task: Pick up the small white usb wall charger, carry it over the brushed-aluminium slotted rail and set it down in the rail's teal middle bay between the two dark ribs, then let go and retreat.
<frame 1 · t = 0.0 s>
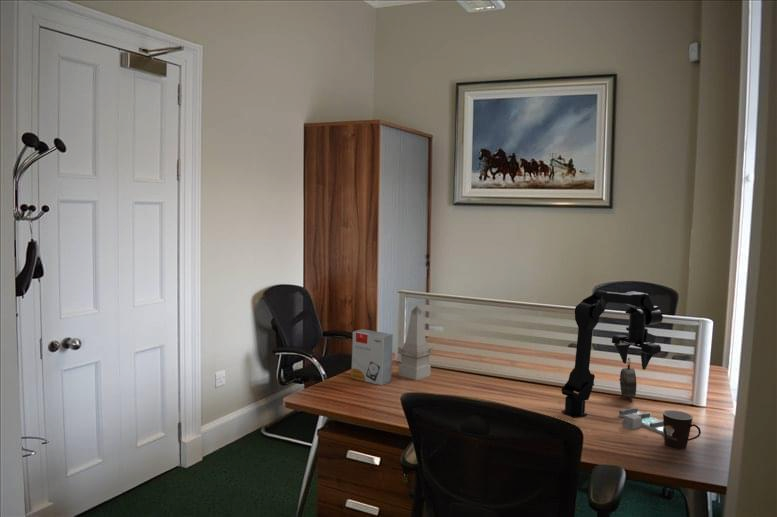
hand: (634, 366, 243), 15 cm above the table, tool pointing down, fingers open, 9 cm apart
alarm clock: (626, 399, 251), on the table
usb wall charger: (629, 428, 219), on the table
hard drive box: (371, 380, 266), on the table
coffee mug: (677, 447, 203), on the table
miniature monument: (414, 375, 275), on the table
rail: (649, 423, 223), on the table
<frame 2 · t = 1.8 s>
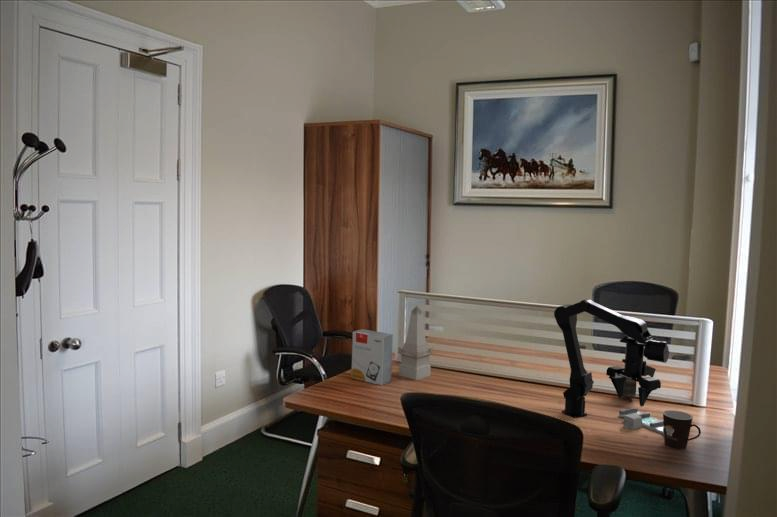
hand: (630, 402, 218), 9 cm above the table, tool pointing down, fingers open, 9 cm apart
nothing on the table moved.
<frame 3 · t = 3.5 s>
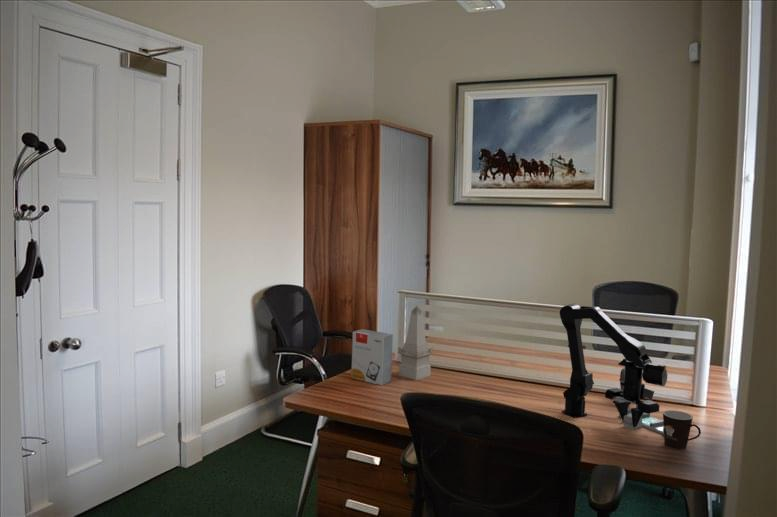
hand: (629, 424, 219), 1 cm above the table, tool pointing down, fingers closed on usb wall charger, 4 cm apart
usb wall charger: (629, 428, 219), on the table, touching gripper
everything else where it was.
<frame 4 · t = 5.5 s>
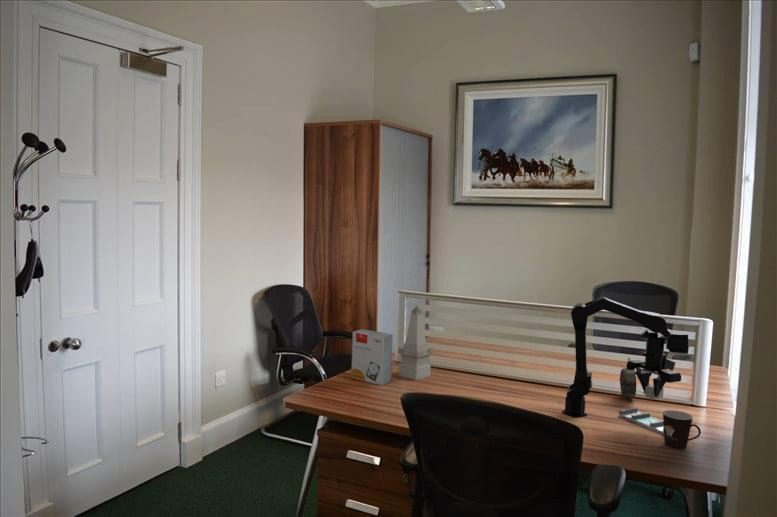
hand: (651, 395, 222), 10 cm above the table, tool pointing down, fingers closed on usb wall charger, 4 cm apart
usb wall charger: (651, 398, 223), point 9 cm above the table, touching gripper
everything else where it was.
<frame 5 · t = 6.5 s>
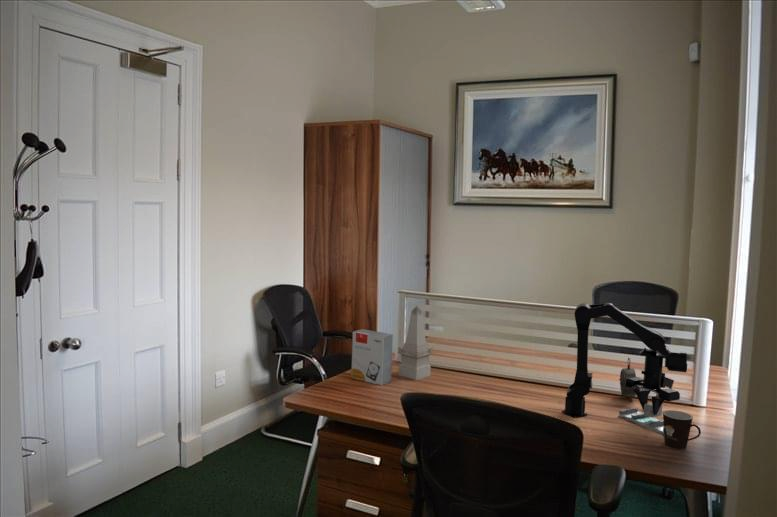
hand: (649, 412, 223), 4 cm above the table, tool pointing down, fingers closed on usb wall charger, 4 cm apart
usb wall charger: (650, 416, 223), point 3 cm above the table, touching gripper
everything else where it was.
when the fingers open (3 cm above the table, at t = 7.3 s): usb wall charger drops 1 cm, resting on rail.
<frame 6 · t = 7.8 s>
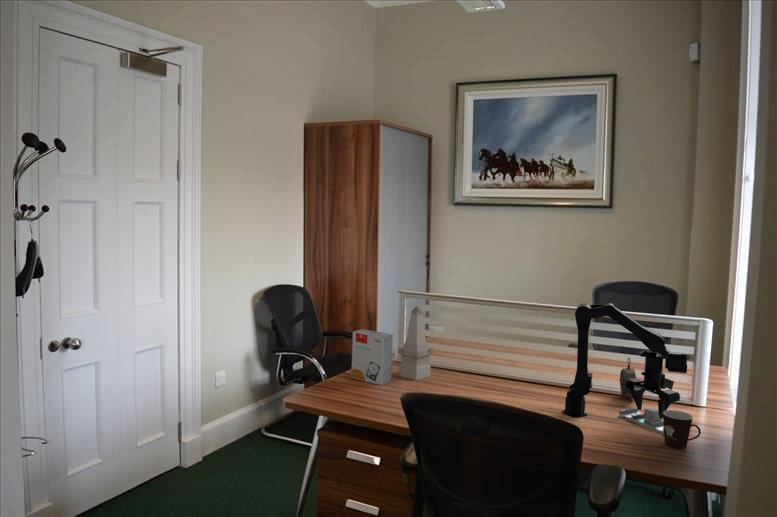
hand: (650, 414, 223), 3 cm above the table, tool pointing down, fingers open, 9 cm apart
usb wall charger: (650, 421, 223), point 1 cm above the table, touching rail
everything else where it was.
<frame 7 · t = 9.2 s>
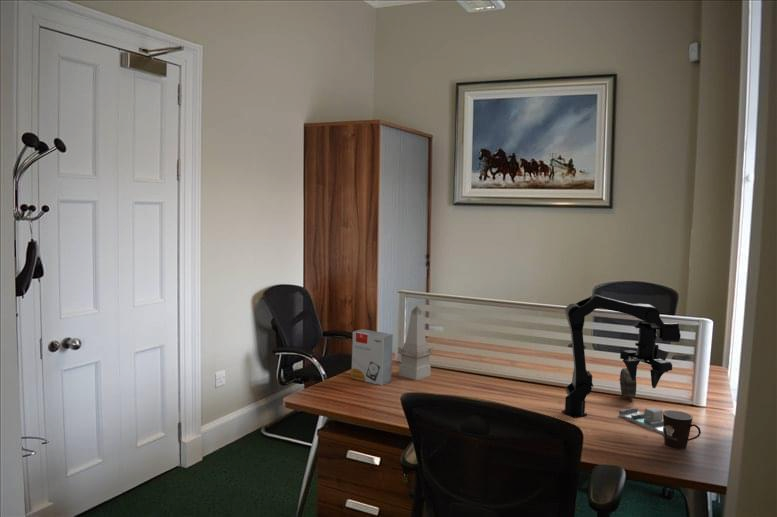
hand: (643, 384, 228), 12 cm above the table, tool pointing down, fingers open, 9 cm apart
nothing on the table moved.
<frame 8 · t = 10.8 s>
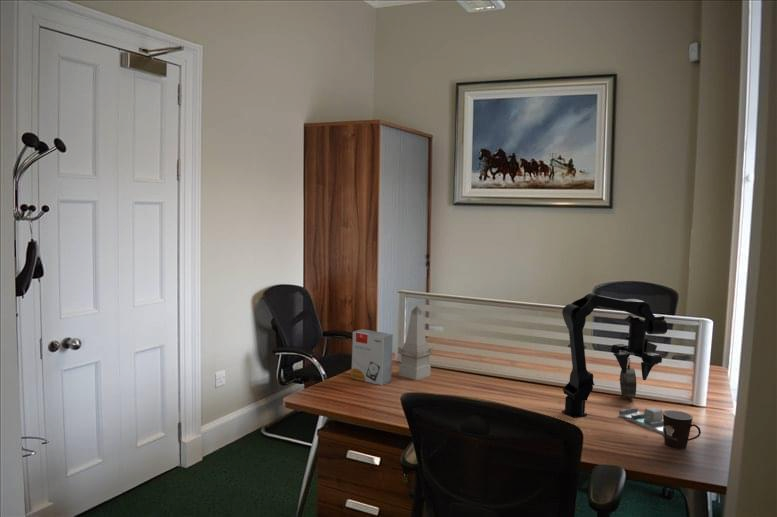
hand: (634, 376, 235), 13 cm above the table, tool pointing down, fingers open, 9 cm apart
nothing on the table moved.
at the end: usb wall charger 0.2 cm off-centre on the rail, point 0.9 cm above the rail's base; the gripper is holding nothing; usb wall charger touching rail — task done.
